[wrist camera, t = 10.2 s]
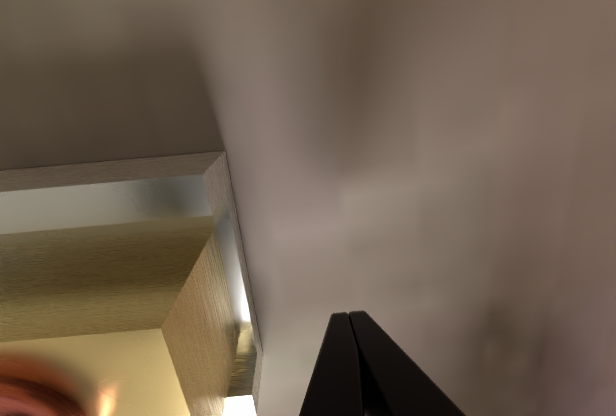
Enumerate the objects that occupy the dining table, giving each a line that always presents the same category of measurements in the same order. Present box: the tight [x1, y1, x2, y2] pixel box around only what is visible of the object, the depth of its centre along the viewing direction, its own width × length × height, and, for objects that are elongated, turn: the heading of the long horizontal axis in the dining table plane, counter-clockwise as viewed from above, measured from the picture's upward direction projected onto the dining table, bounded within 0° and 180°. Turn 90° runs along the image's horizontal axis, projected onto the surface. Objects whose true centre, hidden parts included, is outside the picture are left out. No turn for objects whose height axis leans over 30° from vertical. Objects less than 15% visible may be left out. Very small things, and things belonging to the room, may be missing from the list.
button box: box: [0, 227, 239, 416], centre depth 8 cm, size 7×4×5 cm, turn 94°
